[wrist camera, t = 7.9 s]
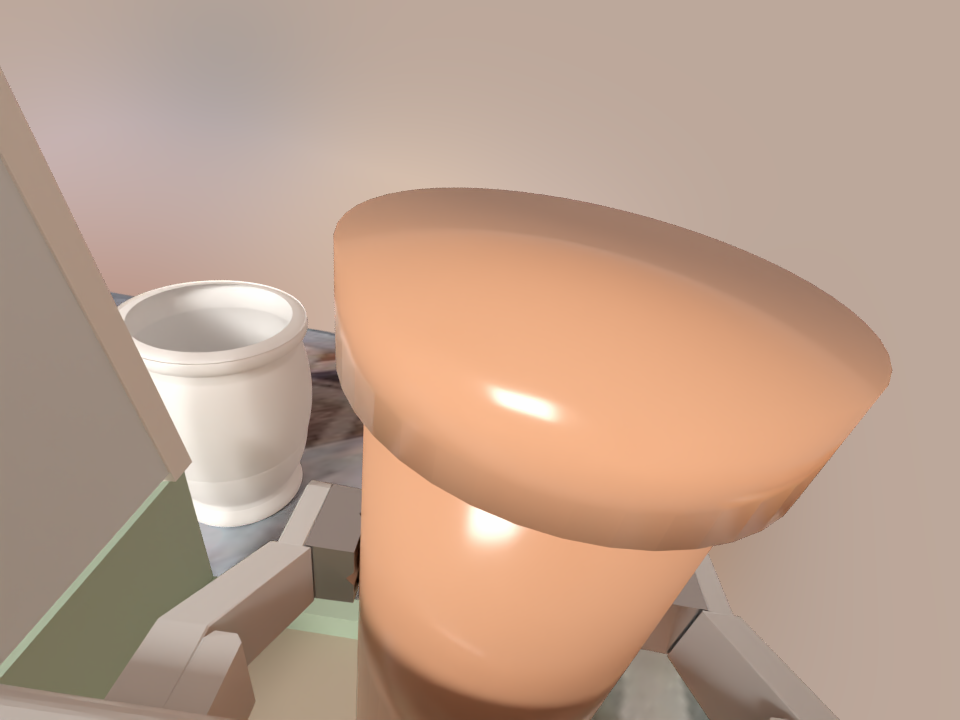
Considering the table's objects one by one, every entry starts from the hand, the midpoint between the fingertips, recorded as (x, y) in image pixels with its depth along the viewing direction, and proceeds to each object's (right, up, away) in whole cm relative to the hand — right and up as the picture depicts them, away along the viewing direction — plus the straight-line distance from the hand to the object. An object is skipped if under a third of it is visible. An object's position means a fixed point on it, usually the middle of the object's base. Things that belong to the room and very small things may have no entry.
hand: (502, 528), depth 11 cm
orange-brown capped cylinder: (-1, -7, +4) cm, 8 cm away
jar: (-19, -6, +25) cm, 32 cm away
